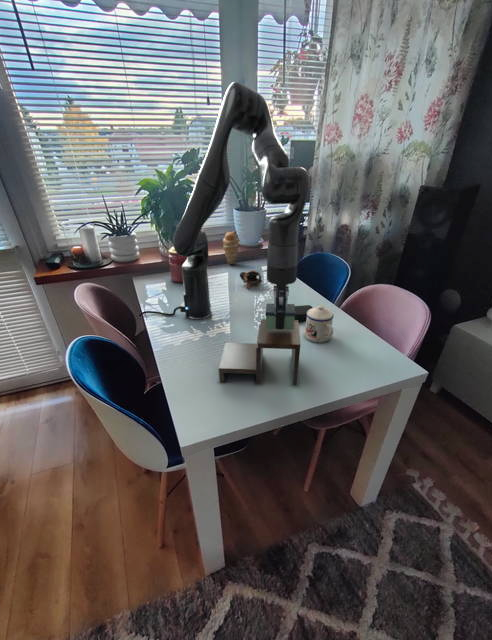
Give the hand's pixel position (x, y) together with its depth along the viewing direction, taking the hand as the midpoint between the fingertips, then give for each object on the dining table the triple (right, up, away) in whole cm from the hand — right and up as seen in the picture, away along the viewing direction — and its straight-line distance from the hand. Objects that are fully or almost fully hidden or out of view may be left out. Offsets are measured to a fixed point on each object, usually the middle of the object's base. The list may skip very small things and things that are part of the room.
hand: (279, 323), depth 89 cm
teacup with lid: (+16, -3, +25) cm, 29 cm away
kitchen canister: (-42, +31, +75) cm, 92 cm away
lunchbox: (0, 0, 0) cm, 1 cm away
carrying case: (+10, +6, +38) cm, 40 cm away
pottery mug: (-9, +25, +67) cm, 72 cm away
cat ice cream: (-20, +53, +89) cm, 105 cm away
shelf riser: (-5, -13, +9) cm, 17 cm away
